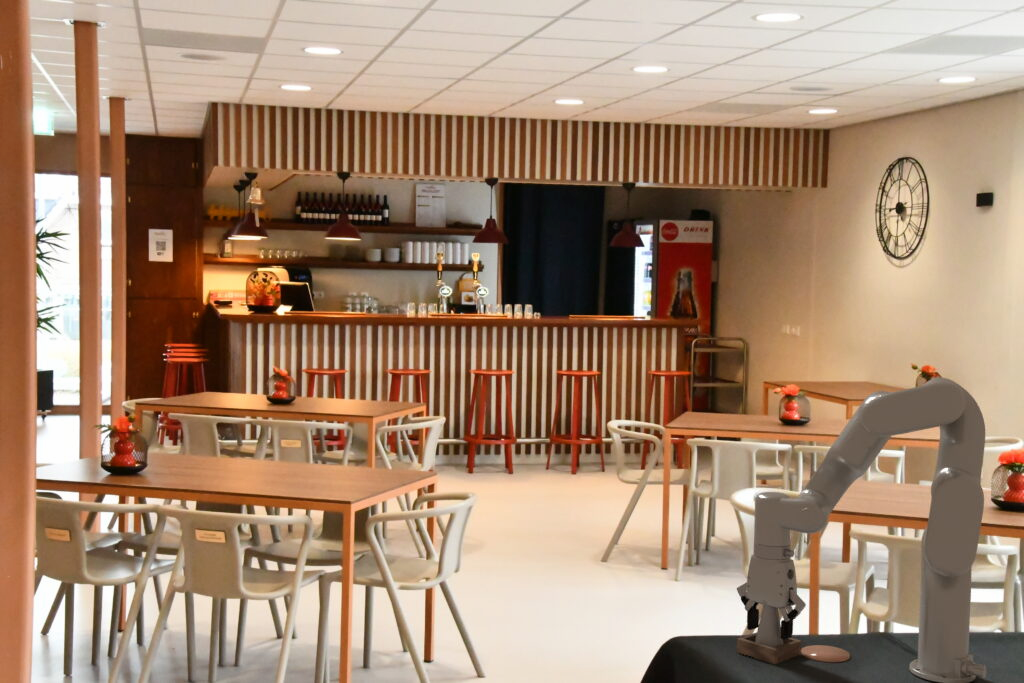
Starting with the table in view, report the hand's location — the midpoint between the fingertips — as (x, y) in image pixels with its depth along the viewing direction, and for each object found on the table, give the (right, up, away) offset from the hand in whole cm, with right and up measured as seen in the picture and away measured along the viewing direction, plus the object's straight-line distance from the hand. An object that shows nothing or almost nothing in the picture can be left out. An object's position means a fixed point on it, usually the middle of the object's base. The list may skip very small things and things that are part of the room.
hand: (769, 633), depth 241 cm
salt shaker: (0, -5, 0) cm, 5 cm away
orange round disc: (+12, -5, 0) cm, 13 cm away
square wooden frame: (0, -4, 0) cm, 4 cm away
